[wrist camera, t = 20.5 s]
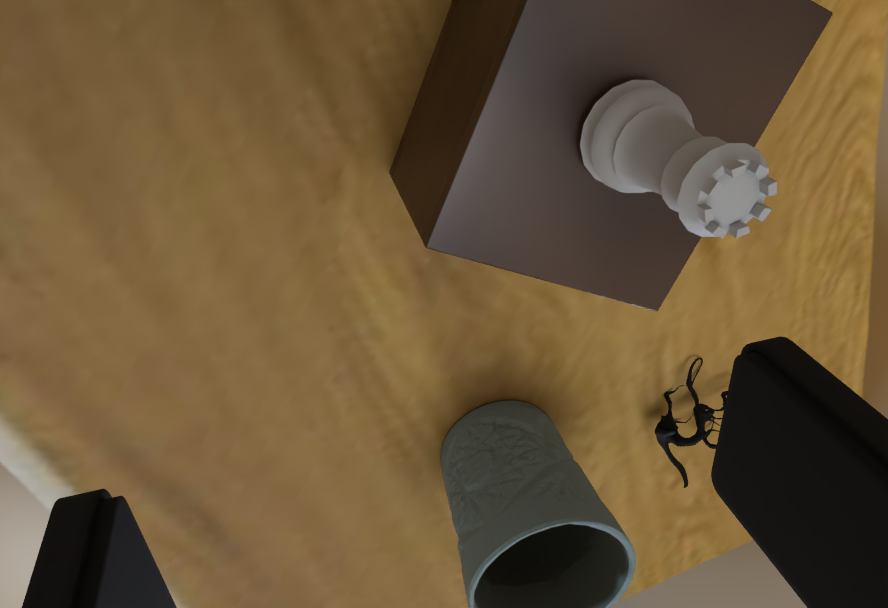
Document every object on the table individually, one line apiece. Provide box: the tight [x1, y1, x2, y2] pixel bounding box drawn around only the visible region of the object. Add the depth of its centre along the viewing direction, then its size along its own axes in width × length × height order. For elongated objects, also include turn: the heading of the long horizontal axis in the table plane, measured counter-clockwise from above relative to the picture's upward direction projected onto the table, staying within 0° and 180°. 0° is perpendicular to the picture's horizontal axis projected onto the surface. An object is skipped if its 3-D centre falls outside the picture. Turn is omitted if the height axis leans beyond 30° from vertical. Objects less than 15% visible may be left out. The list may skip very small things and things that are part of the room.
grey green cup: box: [441, 400, 636, 608], centre depth 43 cm, size 10×10×12 cm
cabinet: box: [390, 0, 833, 311], centre depth 32 cm, size 15×13×10 cm
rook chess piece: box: [580, 80, 777, 238], centre depth 25 cm, size 4×4×8 cm
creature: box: [655, 358, 728, 488], centre depth 49 cm, size 8×5×8 cm
